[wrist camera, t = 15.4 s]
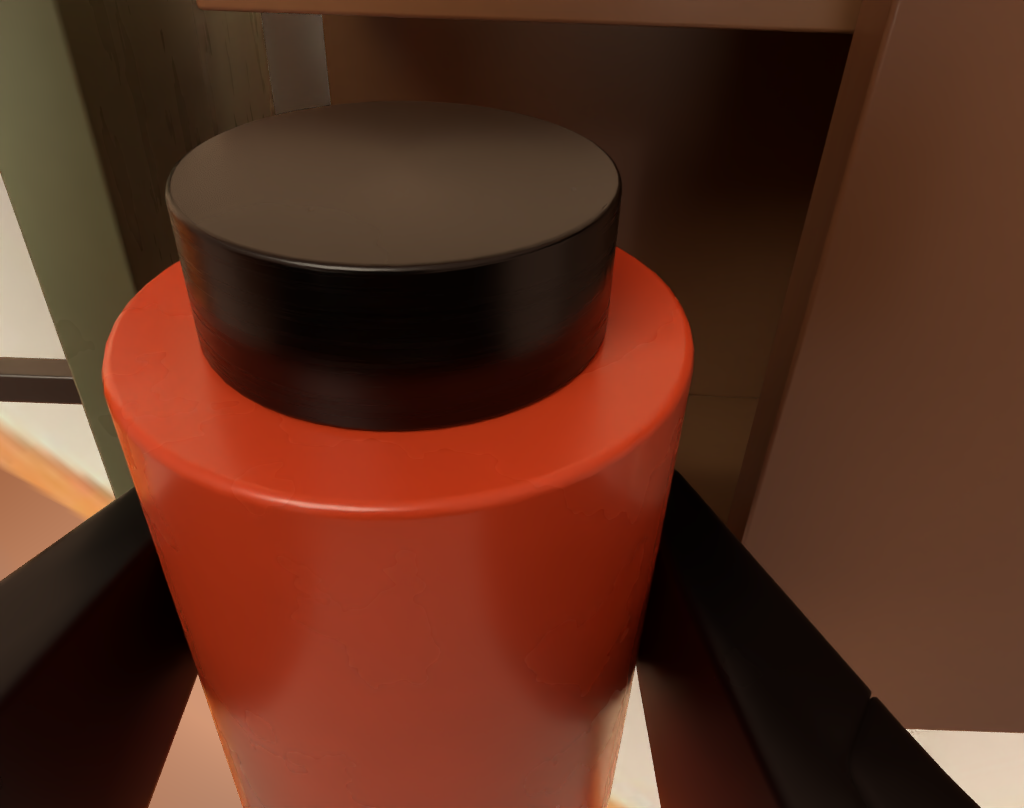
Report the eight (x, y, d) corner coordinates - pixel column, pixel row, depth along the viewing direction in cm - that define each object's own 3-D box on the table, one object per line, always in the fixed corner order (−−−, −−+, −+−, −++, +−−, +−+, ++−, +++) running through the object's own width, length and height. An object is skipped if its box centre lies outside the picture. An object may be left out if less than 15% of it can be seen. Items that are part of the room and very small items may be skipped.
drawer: (62, 396, 19) (-123, 626, 14) (-156, -195, 13) (-680, -201, 7) (787, 422, 19) (888, 662, 14) (955, -155, 13) (1277, -128, 7)
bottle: (620, 627, 12) (601, 990, 8) (320, 584, 12) (175, 908, 9) (711, 96, 7) (753, 380, 4) (231, 63, 8) (-145, 283, 4)
